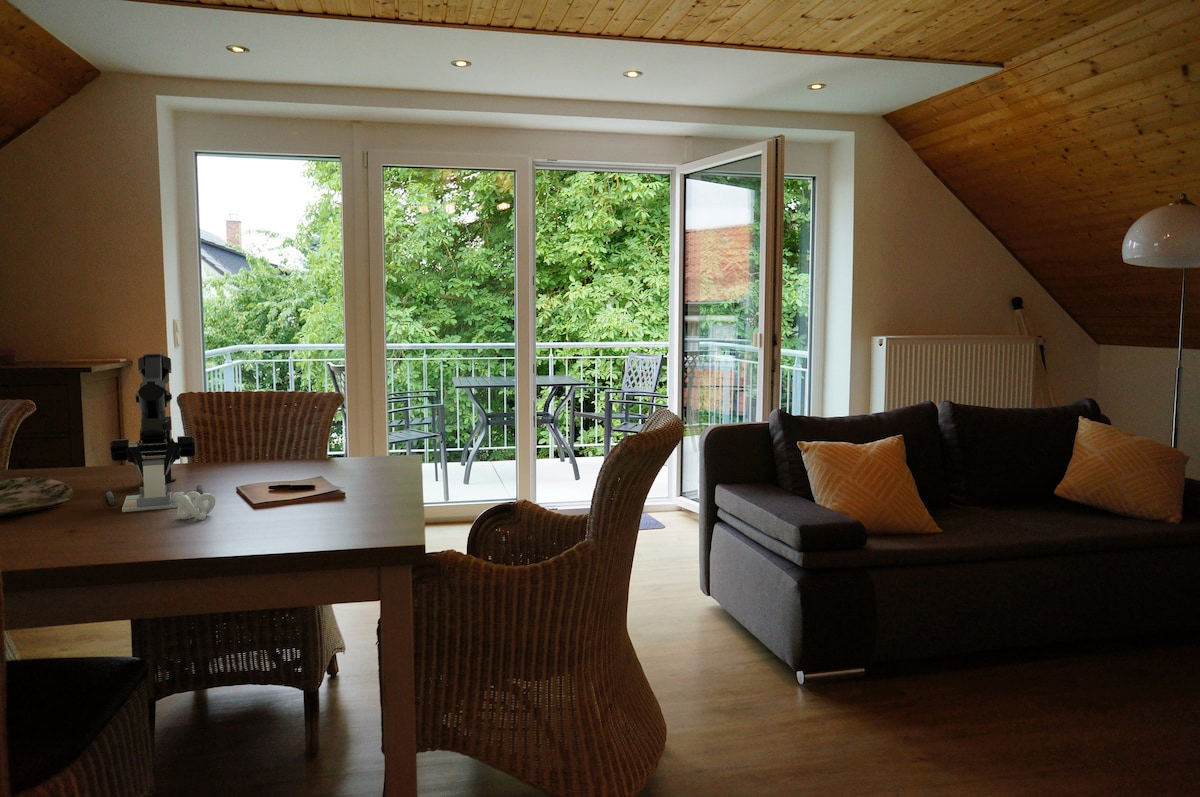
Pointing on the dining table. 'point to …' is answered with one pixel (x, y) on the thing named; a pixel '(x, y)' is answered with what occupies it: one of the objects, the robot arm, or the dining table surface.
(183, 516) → the knot
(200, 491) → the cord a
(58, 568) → the dining table surface
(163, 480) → the grey upright block
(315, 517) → the dining table surface
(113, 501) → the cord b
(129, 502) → the panel
